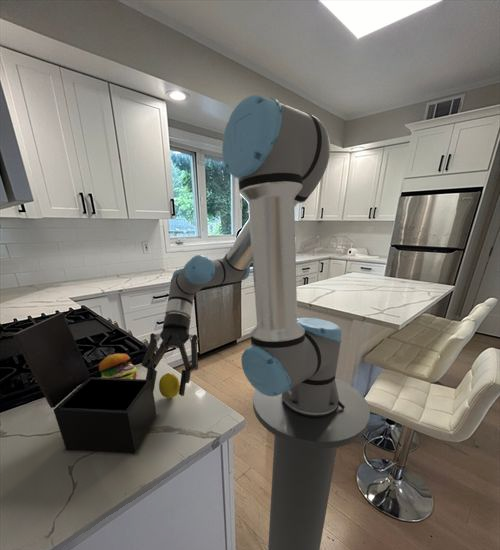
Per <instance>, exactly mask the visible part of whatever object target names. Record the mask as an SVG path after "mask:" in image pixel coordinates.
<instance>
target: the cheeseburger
mask: <svg viewBox="0 0 500 550" xmlns="http://www.w3.org/2000/svg"><path fill="white" fill-rule="evenodd" d="M130 359H131V357H130V356H129V355H128V354H127V353H113V354H110V355H107V356H105V357H104V358H102V360H101V361H100V362H99V363H98V371H99V372H100V375H101V378H117V379H137V373H138V369H137V367H136V366H135V365H134V364H132V361H129V360H130Z"/></svg>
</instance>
